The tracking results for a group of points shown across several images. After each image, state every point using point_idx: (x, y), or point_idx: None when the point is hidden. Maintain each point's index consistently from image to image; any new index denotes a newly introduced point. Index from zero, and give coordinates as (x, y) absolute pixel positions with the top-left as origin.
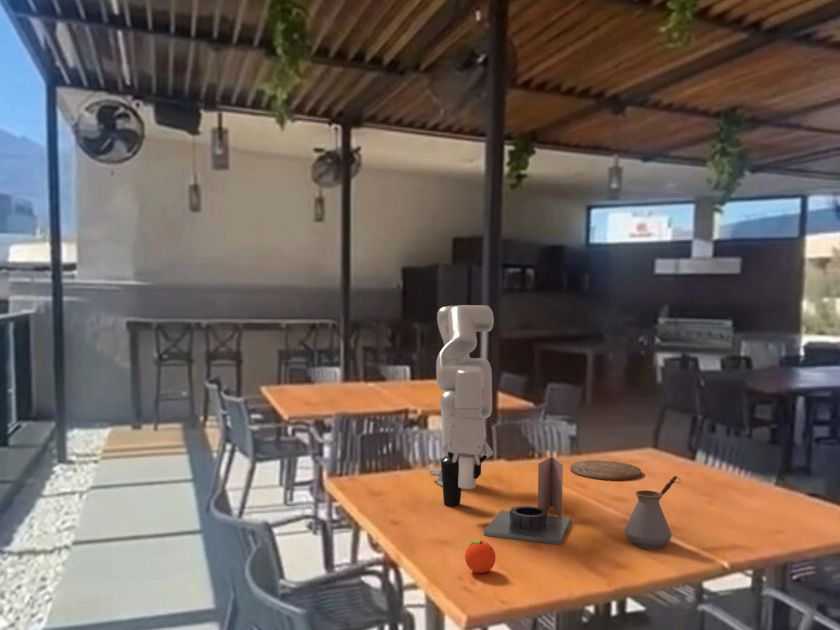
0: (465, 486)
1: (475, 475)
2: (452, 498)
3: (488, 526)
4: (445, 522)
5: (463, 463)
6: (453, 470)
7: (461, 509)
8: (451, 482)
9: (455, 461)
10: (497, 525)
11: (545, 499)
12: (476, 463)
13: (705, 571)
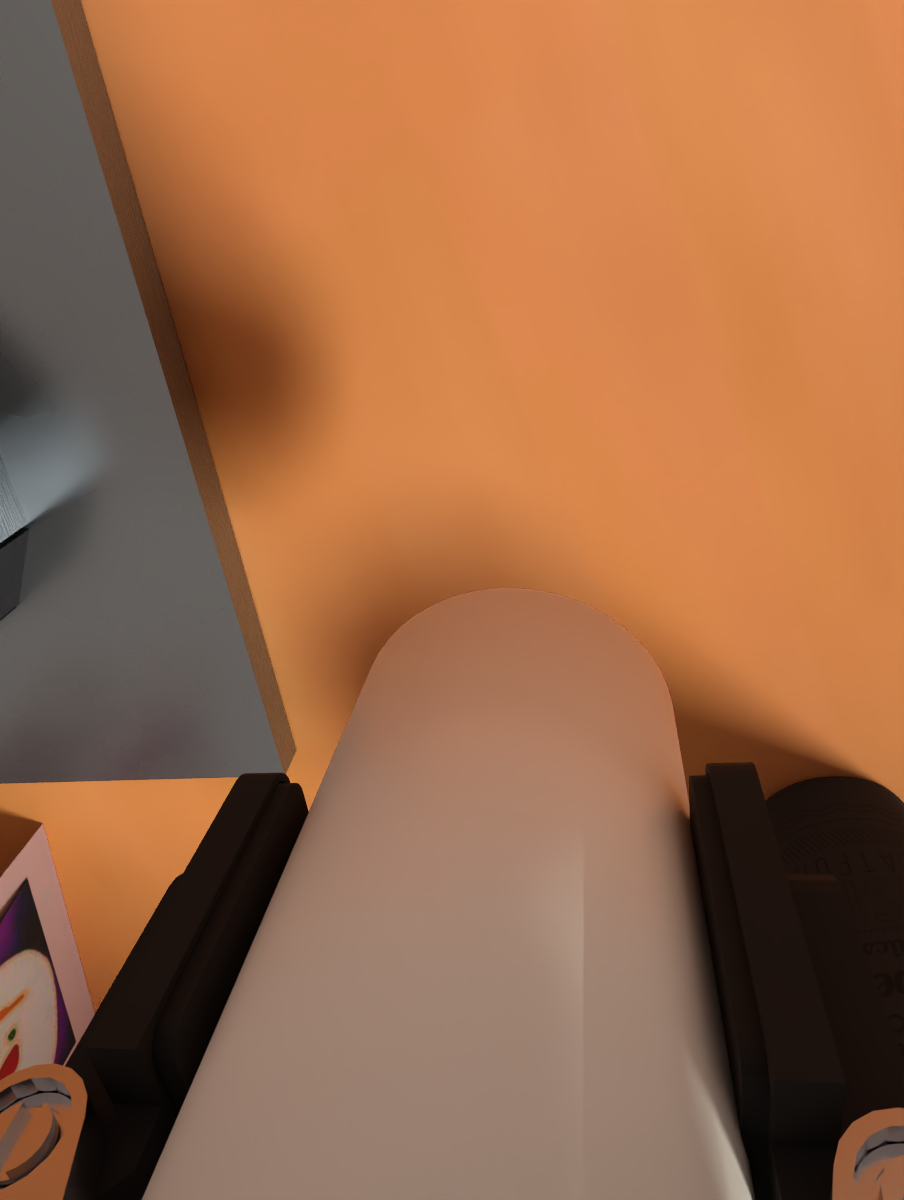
0: (474, 613)
1: (234, 816)
2: (824, 839)
3: (92, 185)
4: (714, 235)
5: (467, 1036)
6: (848, 908)
7: (686, 743)
8: (900, 992)
9: (862, 1168)
10: (38, 286)
11: (30, 1018)
12: (79, 1116)
13: None
